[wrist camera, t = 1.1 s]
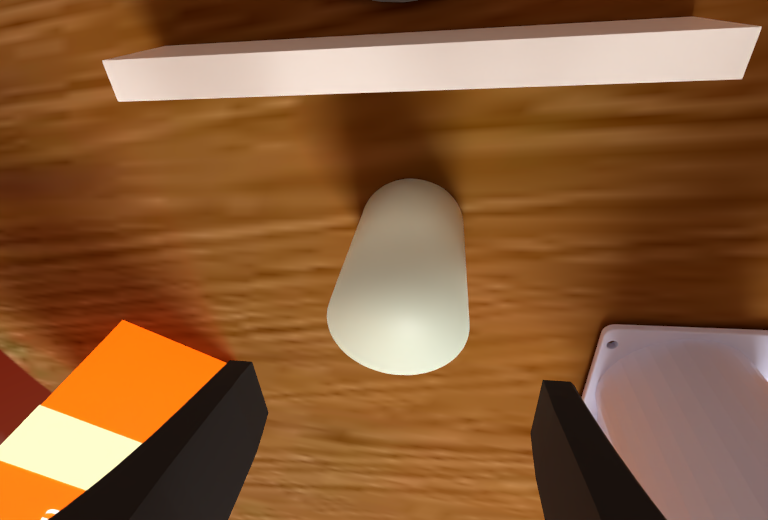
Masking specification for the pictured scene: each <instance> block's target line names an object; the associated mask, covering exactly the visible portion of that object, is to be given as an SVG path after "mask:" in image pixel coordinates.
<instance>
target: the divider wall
mask: <svg viewBox="0 0 768 520" xmlns="http://www.w3.org/2000/svg"><path fill="white" fill-rule="evenodd" d="M761 28H762V26H755V25H748V24H741V23H734V22H728V21H721V20H714V19H707V18H700V17H693V16H692V17H674V18H656V19H638V20H620V21H603V22H585V23H567V24H549V25H531V26H513V27H495V28H477V29H459V30H441V31H423V32H405V33H387V34H369V35H351V36H333V37H315V38H297V39H280V40H262V41H244V42H226V43H208V44H190V45H172V46H163V47H159V48H154V49H150V50H146V51H141V52H137V53H133V54H128V55H124V56H120V57H115V58H111V59H107V60H102V62H103V64H104V67H105V70H106V72H107V75H108V77H109V80H110V82H111V85H112V87H113V90H114V92H115V95H116V98H117V100H118V102H123V101H150V100H178V99H206V98H234V97H261V96H289V95H317V94H345V93H372V92H400V91H428V90H456V89H483V88H511V87H539V86H567V85H594V84H622V83H650V82H678V81H705V80H733V79H742V78H743V75H744V73H745V70H746V68H747V65H748V62H749V60H750V57H751V55H752V52H753V49H754V47H755V44H756V41H757V39H758V36H759V34H760V31H761Z"/></svg>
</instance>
